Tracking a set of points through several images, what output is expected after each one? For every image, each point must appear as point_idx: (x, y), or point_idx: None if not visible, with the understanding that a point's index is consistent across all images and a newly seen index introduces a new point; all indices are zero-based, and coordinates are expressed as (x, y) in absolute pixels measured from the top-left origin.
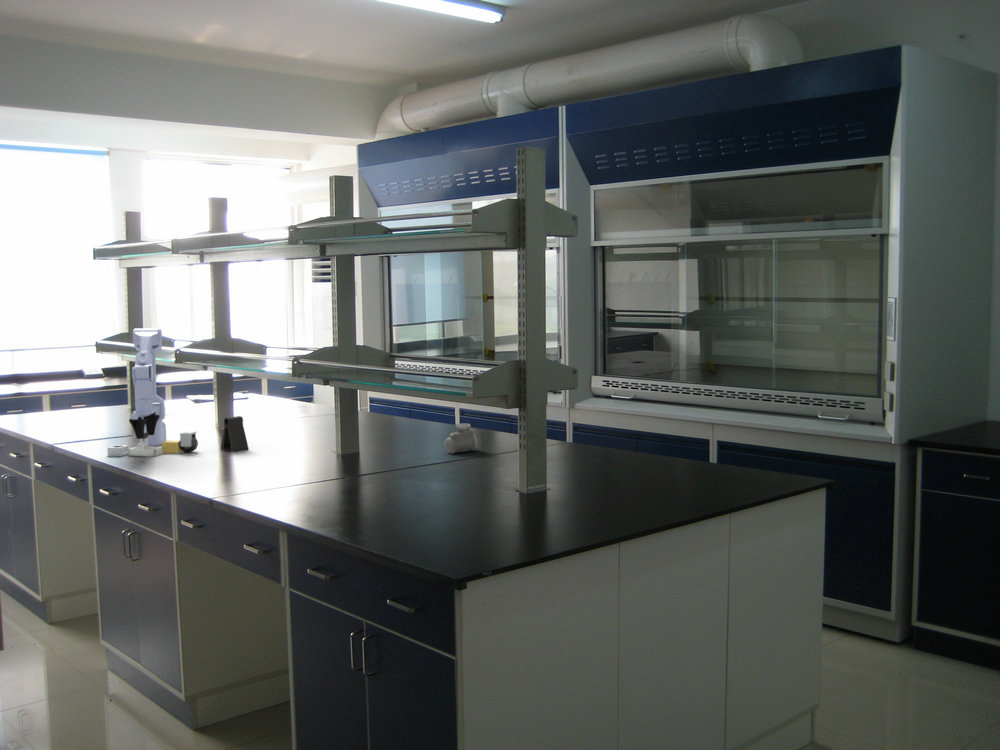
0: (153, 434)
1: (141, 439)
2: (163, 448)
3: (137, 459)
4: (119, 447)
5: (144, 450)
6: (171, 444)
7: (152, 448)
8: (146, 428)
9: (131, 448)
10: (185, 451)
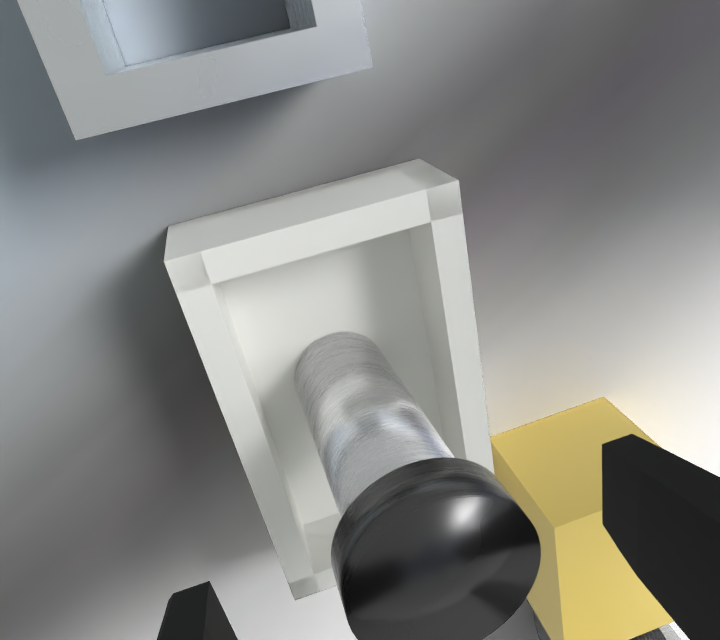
0: (617, 533)
1: (341, 500)
2: None
3: (33, 515)
4: (86, 84)
5: (253, 481)
6: (549, 592)
7: (453, 415)
8: (712, 524)
9: (248, 255)
10: None
